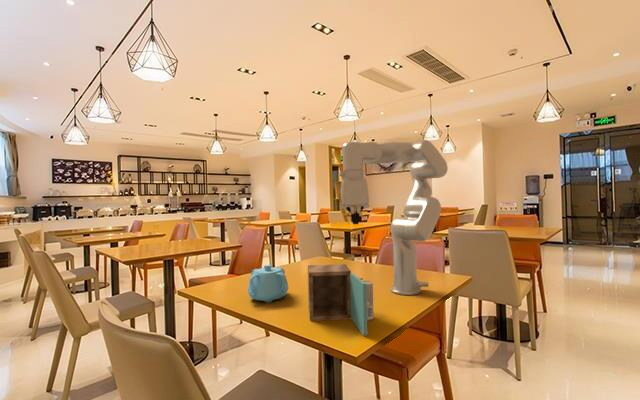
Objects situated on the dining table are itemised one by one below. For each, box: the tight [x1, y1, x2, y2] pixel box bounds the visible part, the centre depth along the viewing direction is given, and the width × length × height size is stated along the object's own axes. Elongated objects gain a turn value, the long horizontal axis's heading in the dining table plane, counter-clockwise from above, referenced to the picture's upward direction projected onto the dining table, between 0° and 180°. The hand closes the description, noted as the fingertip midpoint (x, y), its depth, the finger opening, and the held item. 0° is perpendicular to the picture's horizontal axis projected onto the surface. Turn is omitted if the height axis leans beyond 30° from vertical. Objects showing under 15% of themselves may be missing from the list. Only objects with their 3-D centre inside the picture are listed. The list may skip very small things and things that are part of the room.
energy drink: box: [362, 280, 374, 322], centre depth 110 cm, size 5×5×12 cm
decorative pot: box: [247, 264, 289, 303], centre depth 135 cm, size 16×16×14 cm
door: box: [350, 272, 370, 337], centre depth 102 cm, size 14×2×15 cm, turn 11°
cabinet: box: [307, 263, 352, 322], centre depth 115 cm, size 14×12×16 cm
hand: (355, 223), depth 124 cm, fingers closed
